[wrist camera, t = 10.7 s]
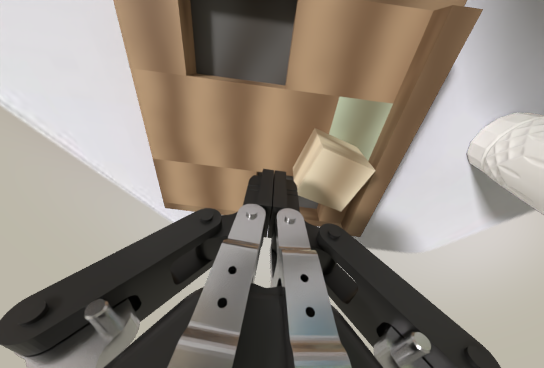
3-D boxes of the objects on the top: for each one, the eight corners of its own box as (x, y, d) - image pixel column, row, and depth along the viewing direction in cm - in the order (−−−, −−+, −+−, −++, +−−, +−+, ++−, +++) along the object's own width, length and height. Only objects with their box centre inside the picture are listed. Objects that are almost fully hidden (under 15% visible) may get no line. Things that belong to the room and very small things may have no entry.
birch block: (292, 167, 22) (294, 194, 18) (314, 127, 20) (323, 147, 15) (330, 183, 23) (341, 211, 19) (356, 147, 20) (375, 170, 16)
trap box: (175, 194, 29) (157, 218, 25) (127, -41, 16) (71, -76, 12) (347, 215, 30) (357, 242, 26) (440, 5, 16) (494, -12, 12)
